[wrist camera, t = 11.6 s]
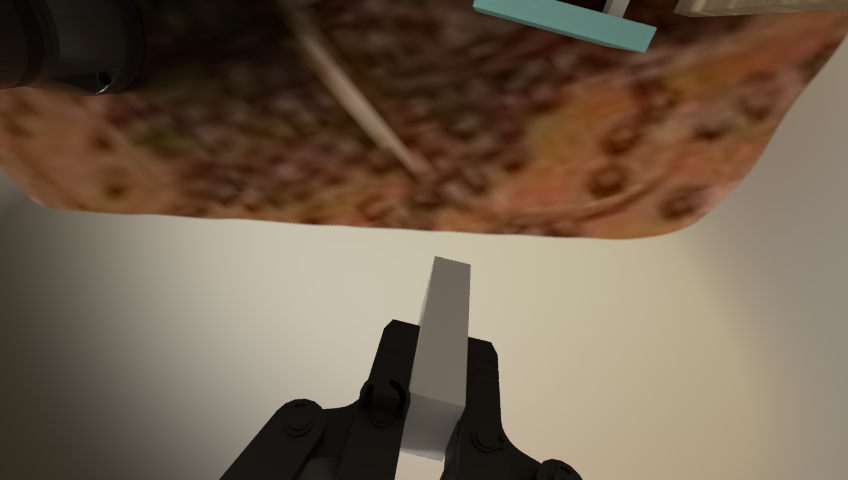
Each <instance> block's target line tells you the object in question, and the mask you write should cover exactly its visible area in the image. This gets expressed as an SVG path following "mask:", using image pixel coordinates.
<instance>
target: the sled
mask: <svg viewBox="0 0 848 480" xmlns="http://www.w3.org/2000/svg"><path fill="white" fill-rule="evenodd" d="M629 1H630V0H607V1H606V4H605V6H604V9H603V11H602V13H601V12H597V11H593V10H589V9H586V8H582V7H578V6H574V5H571V4H567V3H563V2H560V1H556V0H475V1H474V5H473V7H474V9H475V10H476V11H477V12H481V13H484V14H488V15H492V16H496V17H499V18H503V19H507V20H510V21H514V22H518V23H522V24H525V25H529V26H533V27H536V28H540V29H544V30H547V31H551V32H555V33H559V34H562V35H566V36H570V37H573V38H577V39H581V40H585V41H588V42H592V43H596V44H599V45H603V46H607V47H613V48H619V49H625V50H631V51H637V52H644V53H645V52H646V50H647V48H648V46H649V44H650V41H651V39H652V37H653V35H654V33H655V31H656V29H657V28H656V27H653V26H649V25H645V24H641V23H638V22H634V21H630V20H627V19H623V18H622V17H623V15H624V12H625V10H626V8H627V6H628V3H629Z"/></svg>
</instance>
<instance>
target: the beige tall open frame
mask: <svg viewBox="0 0 848 480" xmlns="http://www.w3.org/2000/svg"><path fill="white" fill-rule="evenodd" d="M833 10H848V0H679V1H678V3H677V5H676V7H675V9H674V11H673V13H676V14H680V15H683V16H687V17H707V16H728V15H749V14H770V13H791V12H812V11H833Z"/></svg>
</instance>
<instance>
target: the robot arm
mask: <svg viewBox="0 0 848 480" xmlns="http://www.w3.org/2000/svg"><path fill="white" fill-rule="evenodd" d="M143 57H144V38H143V31H142V26H141V22H140V19H139V15H138V13H137V10H136V7H135V5H134V2H133V0H0V90H1V89H7V88H15V87H23V86H25V87H31V88H37V89H43V90H49V91H55V92H61V93H68V94H74V95H80V96H98V95H104V94H110V93H115V92H118V91H121V90H123V89H125V88H127V87H128V86H129V85H130V84H131V83H132V82H133V81H134V80H135V79H136V77H137V76H138V74H139V72H140V69H141V66H142V62H143ZM470 266H471V265H470V264H465V263H461V262H457V261H453V260H449V259H444V258H441V257H437V256H435V258H434V262H433V266H432V270H431V274H430V277H429V281H428V285H427V289H426V293H425V297H424V300H423V304H422V309H421V314H420V318H419V323H418V325H414V324H410V323H406V322H402V321H398V320H392V321H391V322H390V323H389V324H388V325H387V326H386V327H385V328H384V330H383V334H382V337H381V340H380V343H379V346H378V350H377V353H376V356H375V359H374V362H373V366H372V369H371V372H370V375H369V378H368V380H367V381H366V382H365V383H364V385H363V387H362V388H361V391H360V396H359V399H358V400H357V401H355V402H354V403H353V404H350V405H348V406H346V407H341V408H332V409H322V408H321V406H319V405H318V404H317V403H316V402H314V401H311V400H308V399H297V400H296V399H295V400H293V401H290V402H288V403H285V404H284V405H283V406H282V407H281V408H279V410H277V411H276V413H275V414H274V415H273V416H272V417H271V418H270V420H269V421H268V422H267V423H266V424H265V426H264V427H263V428H262V429H261V430H260V431H259V433H258V434H257V435H256V436H255V438H254V439H253V440H252V441H251V442H250V443H249V445H248V446H247V447H246V448H245V449H244V451H243V452H242V453H241V454H240V455H239V457H238V458H237V459H236V460H235V461H234V463H233V464H232V465H231V466H230V467H229V469H228V470H227V471H226V472H225V473H224V475H223V476H222V477H221V478H220V479H219V480H394V479H395V474H396V468H397V463H398V457H399V452H400V451H401V452H405V453H409V454H413V455H418V456H421V457H426V458H430V459H434V460H438V461H442V460H443V458H444V455H445V463H444V471H443V473H442V475H441V478H440V480H582V478H581V477H580V475H579V474H578V473H577V472H576V471H575V470H574V469H573V468H572V467H571V466H570V465H568V464H566V463H564V462H562V461H560V460H555V459H550V460H546V461H544V462H543V463H542V464H541V463H539V462H538V461H536V460H534V459H533V458H531V457H529V456H528V455H526V454H524V453H523V452H521V451H520V450H518V449H517V448H516V447H515V446H514V445H513V444H512V443H511V442H510V441H509V439H508V438H507V436H506V435H505V433H504V430H503V428H502V423H501V408H500V390H499V371H498V355H497V353H496V351H495V349H494V347H493V345H492V343H491V342H488V341H484V340H480V339H475V338H471V337H468V320H469V294H470Z"/></svg>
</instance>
